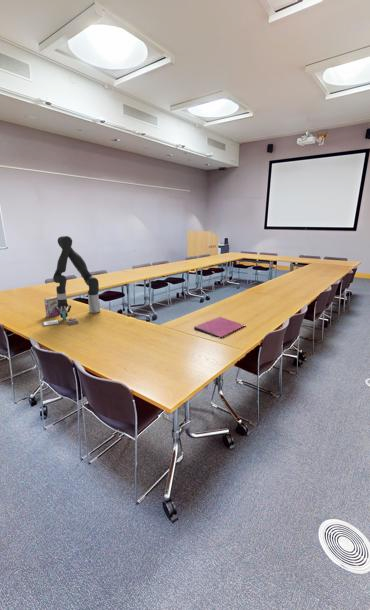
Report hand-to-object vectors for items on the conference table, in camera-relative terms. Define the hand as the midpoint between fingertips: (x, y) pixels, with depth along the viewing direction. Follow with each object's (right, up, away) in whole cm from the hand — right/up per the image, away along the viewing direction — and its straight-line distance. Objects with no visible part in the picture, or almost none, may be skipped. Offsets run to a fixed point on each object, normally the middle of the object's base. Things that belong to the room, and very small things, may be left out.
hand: (64, 317), depth 249 cm
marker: (0, -2, +1) cm, 2 cm away
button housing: (+10, -4, -6) cm, 12 cm away
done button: (+10, -3, -7) cm, 12 cm away
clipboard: (-7, -5, -9) cm, 12 cm away
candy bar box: (-14, +1, +11) cm, 18 cm away
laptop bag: (+133, -9, -13) cm, 134 cm away
